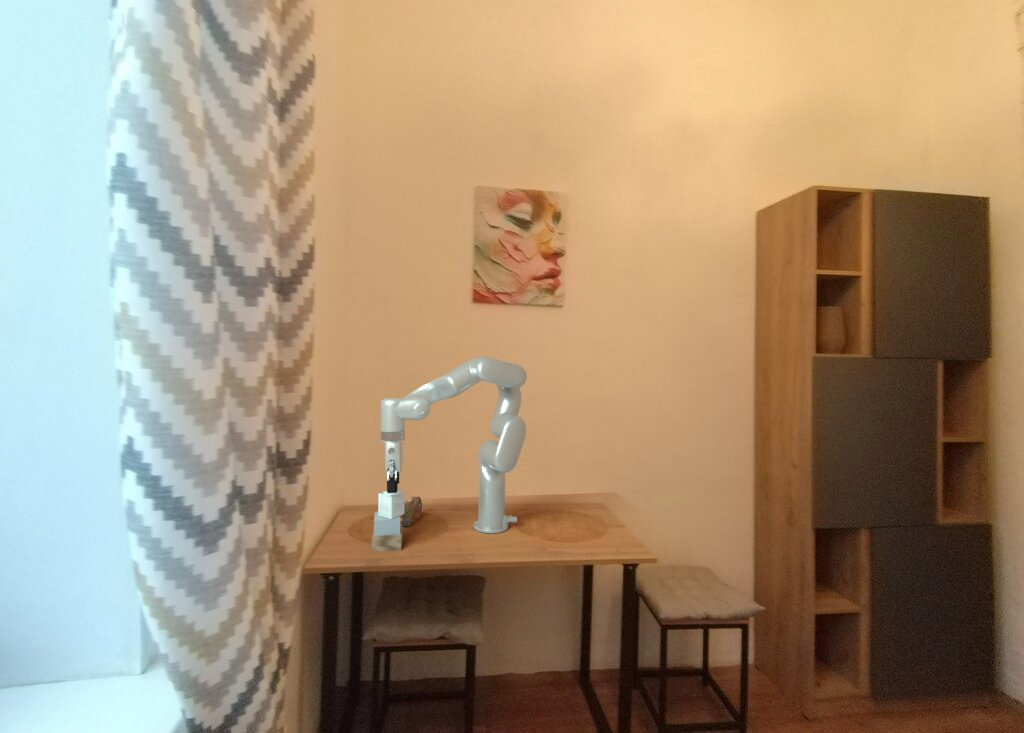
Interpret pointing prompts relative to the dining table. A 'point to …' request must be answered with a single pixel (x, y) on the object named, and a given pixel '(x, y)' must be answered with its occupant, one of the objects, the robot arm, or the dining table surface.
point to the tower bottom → (387, 542)
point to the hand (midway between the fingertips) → (393, 488)
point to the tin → (411, 511)
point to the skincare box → (390, 504)
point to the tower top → (386, 525)
